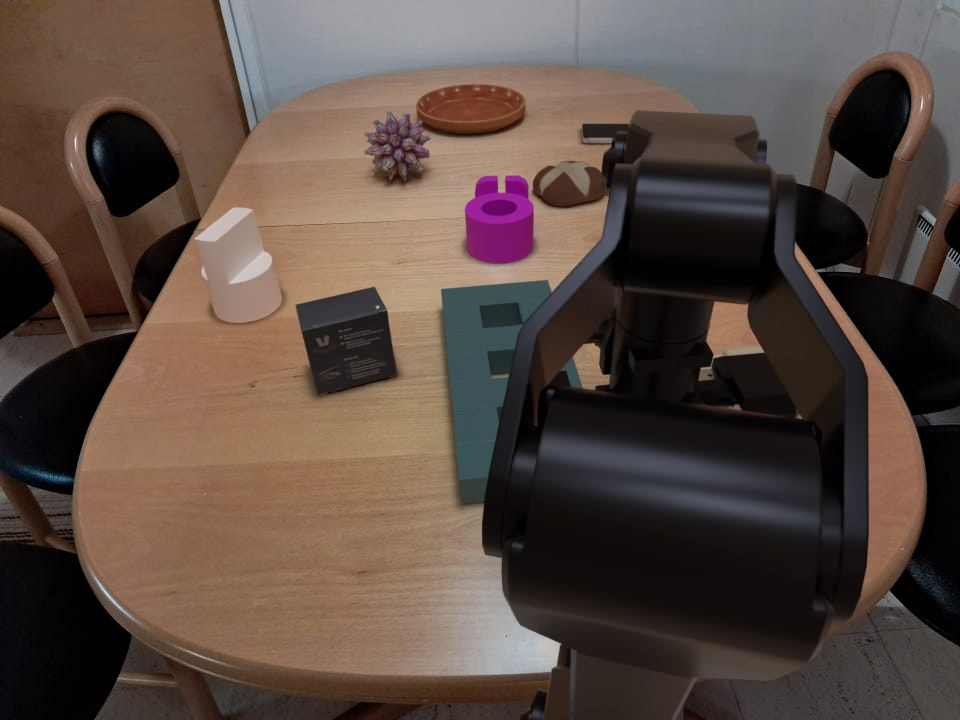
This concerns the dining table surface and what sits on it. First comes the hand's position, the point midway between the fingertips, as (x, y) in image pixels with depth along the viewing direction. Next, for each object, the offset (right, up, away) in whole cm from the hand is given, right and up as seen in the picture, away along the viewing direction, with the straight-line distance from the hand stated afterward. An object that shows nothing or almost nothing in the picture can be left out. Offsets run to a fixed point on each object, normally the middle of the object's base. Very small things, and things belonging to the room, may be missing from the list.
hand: (637, 483), depth 53 cm
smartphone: (+16, +53, +82) cm, 99 cm away
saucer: (-14, +60, +93) cm, 112 cm away
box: (-27, +8, +28) cm, 40 cm away
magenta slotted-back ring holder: (-9, +28, +53) cm, 61 cm away
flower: (-26, +42, +72) cm, 87 cm away
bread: (+3, +37, +64) cm, 74 cm away
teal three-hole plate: (-8, +6, +25) cm, 28 cm away
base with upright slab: (-43, +17, +41) cm, 62 cm away
